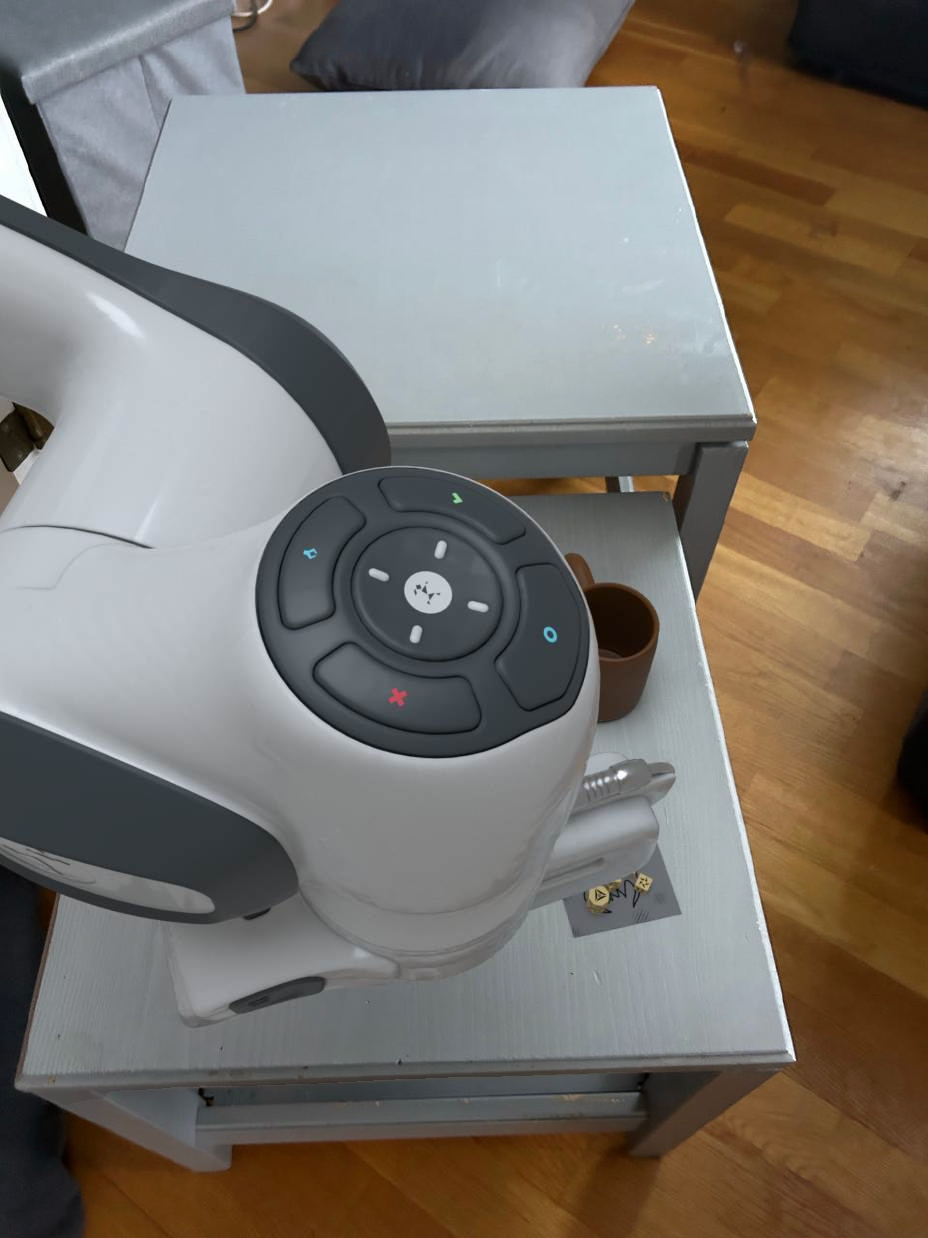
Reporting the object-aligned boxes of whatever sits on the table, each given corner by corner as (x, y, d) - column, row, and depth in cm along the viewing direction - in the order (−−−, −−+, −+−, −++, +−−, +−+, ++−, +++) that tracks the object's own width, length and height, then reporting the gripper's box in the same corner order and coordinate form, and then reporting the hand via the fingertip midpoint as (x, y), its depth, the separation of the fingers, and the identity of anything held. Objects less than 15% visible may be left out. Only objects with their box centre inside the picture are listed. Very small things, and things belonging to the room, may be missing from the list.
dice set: (588, 916, 68) (591, 908, 66) (569, 849, 70) (571, 839, 69) (656, 901, 68) (660, 892, 67) (634, 835, 71) (638, 825, 69)
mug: (519, 620, 82) (523, 552, 74) (599, 596, 84) (612, 527, 76) (572, 736, 76) (583, 675, 68) (658, 709, 77) (679, 646, 69)
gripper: (649, 680, 37) (591, 806, 48) (110, 846, 32) (190, 940, 44) (725, 830, 34) (643, 925, 45) (142, 1035, 29) (219, 1082, 41)
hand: (417, 934), depth 45 cm, fingers closed
